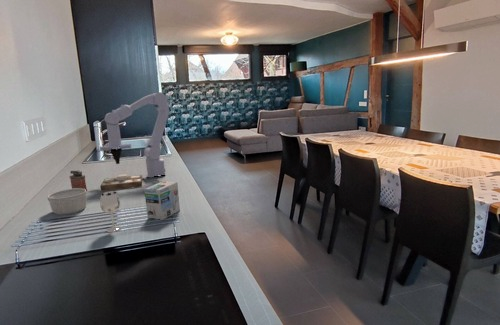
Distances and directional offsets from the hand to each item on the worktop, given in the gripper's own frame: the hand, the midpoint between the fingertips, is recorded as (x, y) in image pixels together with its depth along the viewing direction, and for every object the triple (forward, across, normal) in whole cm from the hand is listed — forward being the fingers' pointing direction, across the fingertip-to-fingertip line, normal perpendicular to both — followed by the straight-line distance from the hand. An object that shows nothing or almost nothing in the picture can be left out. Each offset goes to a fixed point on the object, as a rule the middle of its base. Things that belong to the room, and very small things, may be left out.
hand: (117, 163), depth 170 cm
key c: (+9, -4, -7) cm, 12 cm away
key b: (+8, +2, -7) cm, 11 cm away
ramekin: (+10, -15, -40) cm, 44 cm away
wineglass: (+10, +4, -69) cm, 70 cm away
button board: (+9, +2, -8) cm, 13 cm away
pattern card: (+7, +2, -13) cm, 15 cm away
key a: (+9, +8, -7) cm, 14 cm away
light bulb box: (+10, +20, -61) cm, 65 cm away
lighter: (+10, -17, -11) cm, 22 cm away
